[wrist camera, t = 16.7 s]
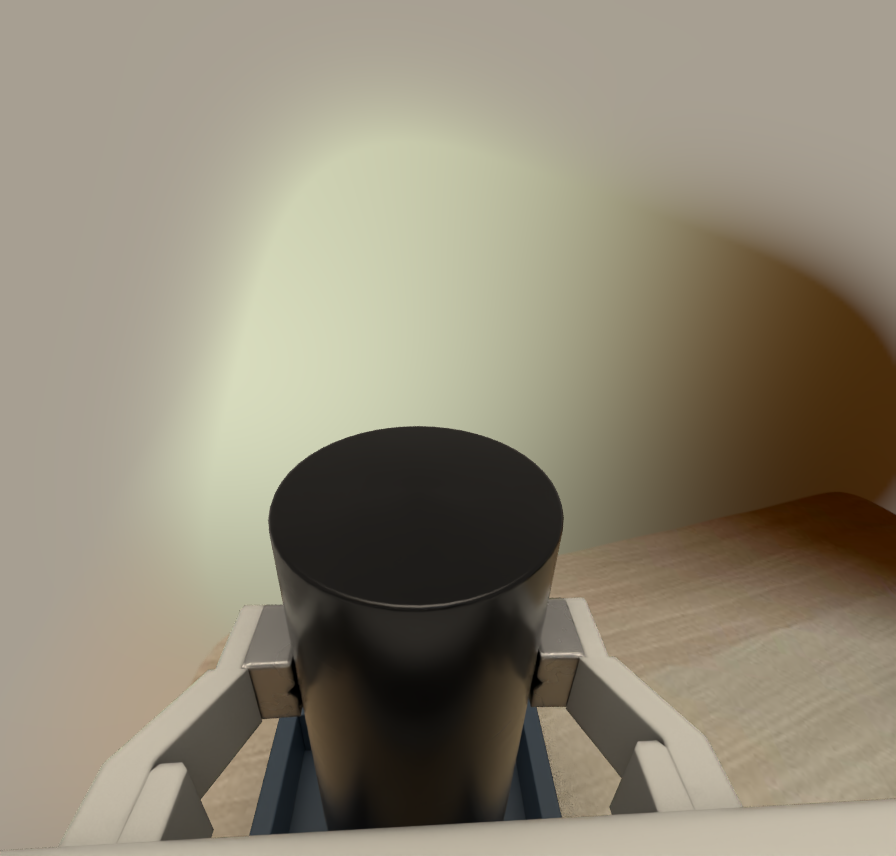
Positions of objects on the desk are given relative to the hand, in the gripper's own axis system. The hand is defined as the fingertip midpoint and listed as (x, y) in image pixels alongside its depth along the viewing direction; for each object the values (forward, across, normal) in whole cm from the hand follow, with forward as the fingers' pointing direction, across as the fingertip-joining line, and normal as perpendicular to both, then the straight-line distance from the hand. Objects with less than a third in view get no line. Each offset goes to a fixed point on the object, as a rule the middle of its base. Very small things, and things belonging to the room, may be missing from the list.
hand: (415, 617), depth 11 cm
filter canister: (-1, 0, +6) cm, 6 cm away
